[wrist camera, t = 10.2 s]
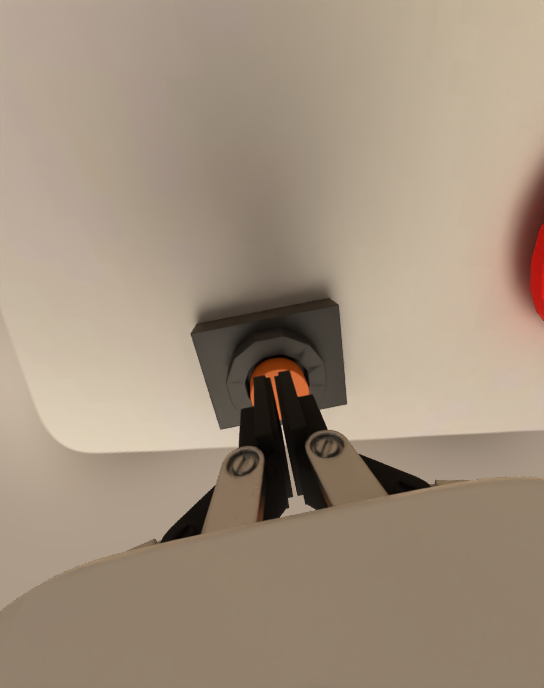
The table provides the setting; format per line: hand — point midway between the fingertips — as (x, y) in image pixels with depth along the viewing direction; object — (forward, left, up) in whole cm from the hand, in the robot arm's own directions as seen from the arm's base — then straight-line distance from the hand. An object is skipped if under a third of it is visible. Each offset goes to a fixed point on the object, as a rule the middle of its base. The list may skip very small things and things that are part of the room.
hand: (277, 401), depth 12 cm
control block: (0, -2, -9) cm, 9 cm away
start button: (0, -2, -5) cm, 6 cm away
